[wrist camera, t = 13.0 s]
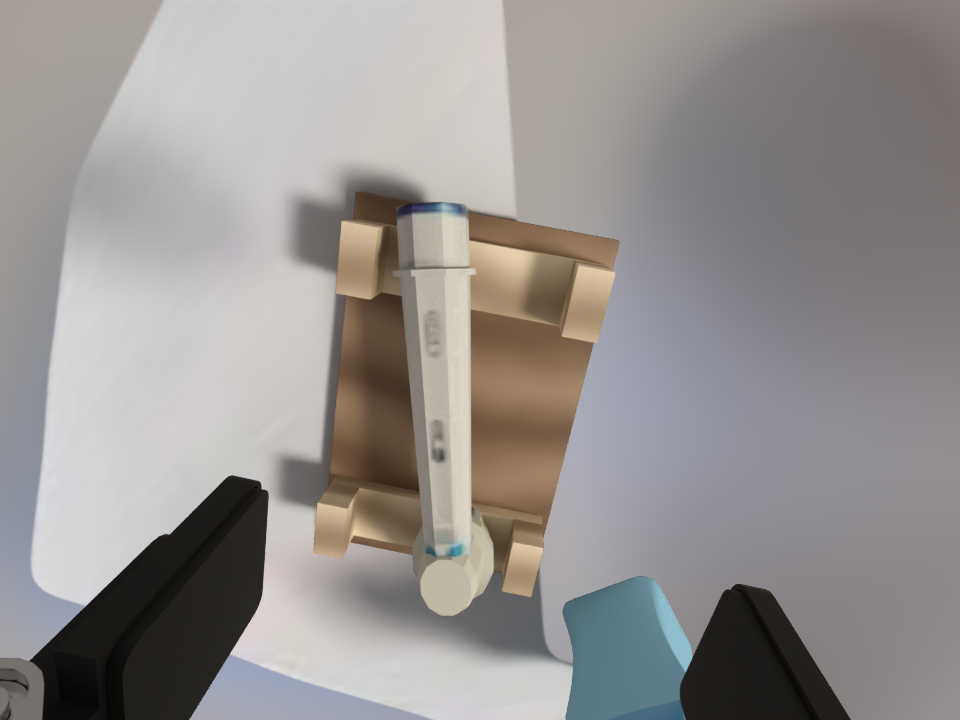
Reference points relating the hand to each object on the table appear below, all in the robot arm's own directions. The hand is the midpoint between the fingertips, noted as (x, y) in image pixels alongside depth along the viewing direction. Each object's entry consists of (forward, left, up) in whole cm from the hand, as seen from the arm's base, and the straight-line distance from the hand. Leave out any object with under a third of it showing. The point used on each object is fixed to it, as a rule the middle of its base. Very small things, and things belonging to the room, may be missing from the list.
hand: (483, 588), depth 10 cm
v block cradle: (+6, -3, -24) cm, 25 cm away
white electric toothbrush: (+6, -3, -22) cm, 23 cm away
